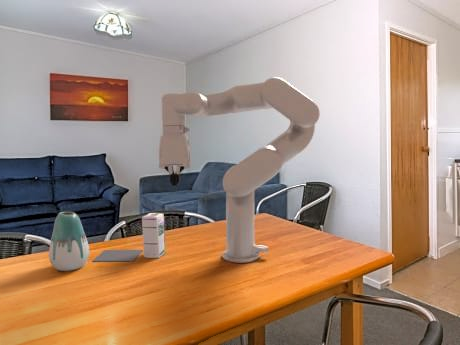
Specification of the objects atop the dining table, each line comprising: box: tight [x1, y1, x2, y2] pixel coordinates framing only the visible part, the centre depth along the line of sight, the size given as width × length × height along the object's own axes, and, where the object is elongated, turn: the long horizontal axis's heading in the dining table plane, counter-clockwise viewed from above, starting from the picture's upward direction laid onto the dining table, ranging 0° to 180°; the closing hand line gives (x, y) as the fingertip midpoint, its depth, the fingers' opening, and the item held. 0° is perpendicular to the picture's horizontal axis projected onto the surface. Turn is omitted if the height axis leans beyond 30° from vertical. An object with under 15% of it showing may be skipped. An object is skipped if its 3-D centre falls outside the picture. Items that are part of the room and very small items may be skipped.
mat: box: [91, 249, 144, 263], centre depth 118 cm, size 14×11×1 cm
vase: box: [48, 211, 90, 272], centre depth 107 cm, size 12×12×18 cm
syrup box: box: [141, 212, 166, 259], centre depth 117 cm, size 6×6×14 cm
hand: (175, 185), depth 116 cm, fingers closed
